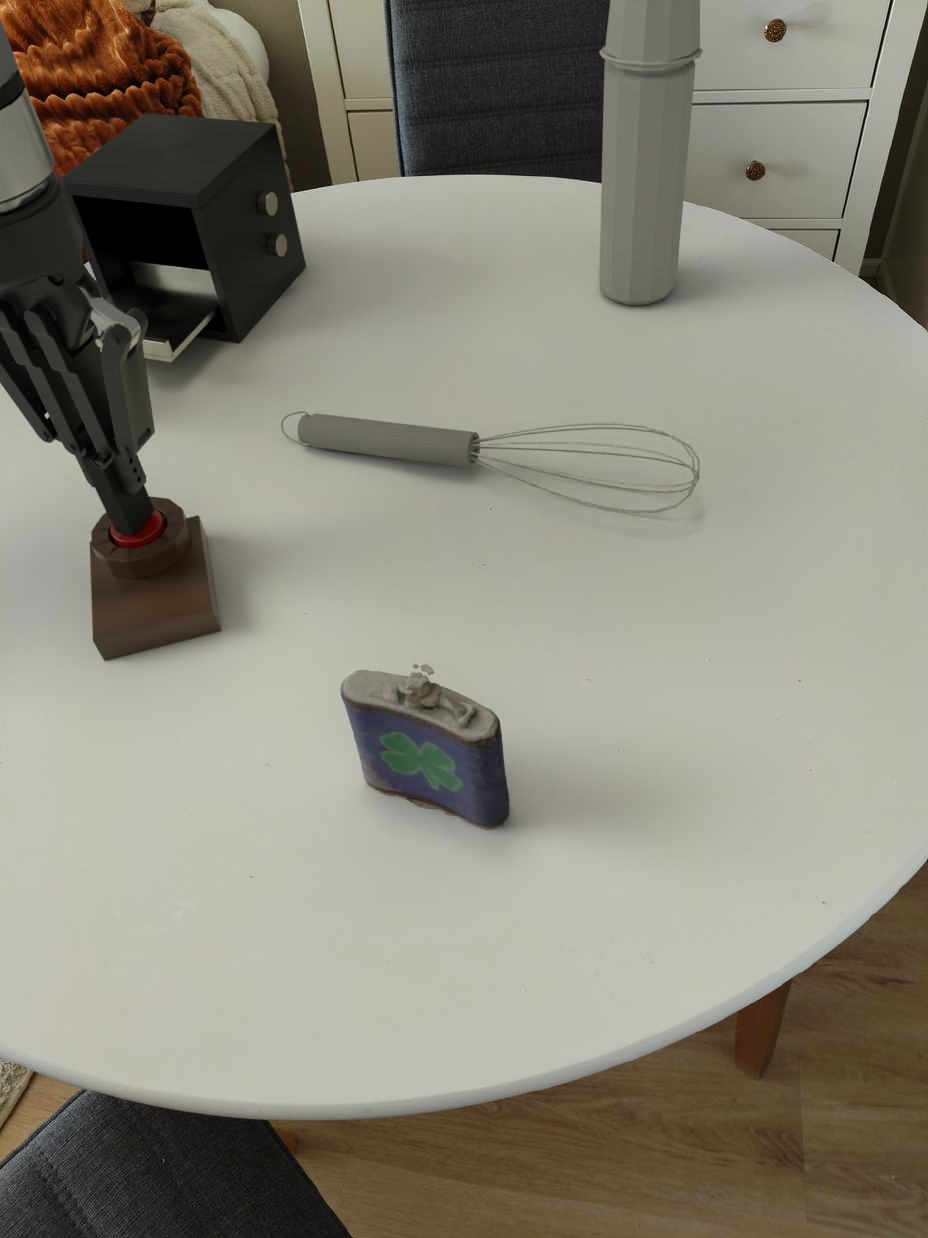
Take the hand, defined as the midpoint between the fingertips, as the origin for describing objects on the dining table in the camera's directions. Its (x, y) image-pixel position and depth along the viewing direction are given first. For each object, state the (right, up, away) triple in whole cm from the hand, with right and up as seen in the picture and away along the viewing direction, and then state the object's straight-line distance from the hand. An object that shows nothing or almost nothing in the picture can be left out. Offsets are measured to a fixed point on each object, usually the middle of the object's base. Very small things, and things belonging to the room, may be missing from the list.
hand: (135, 521), depth 69 cm
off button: (0, -1, +2) cm, 2 cm away
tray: (-6, +18, +19) cm, 27 cm away
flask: (+21, -17, -11) cm, 29 cm away
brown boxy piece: (+1, -5, +2) cm, 5 cm away
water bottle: (+39, +24, +24) cm, 52 cm away
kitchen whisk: (+24, +4, +7) cm, 26 cm away
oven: (-2, +25, +29) cm, 38 cm away
